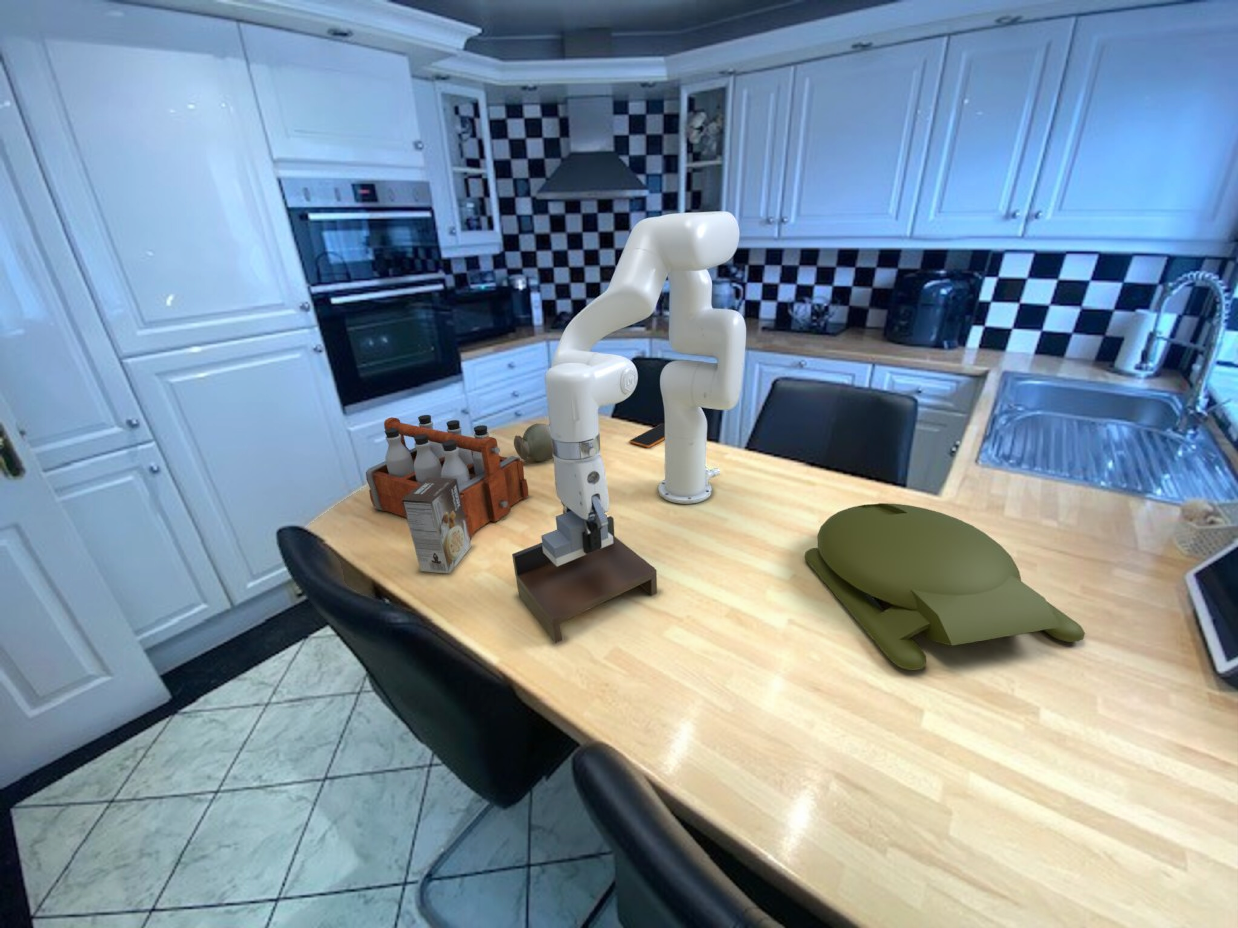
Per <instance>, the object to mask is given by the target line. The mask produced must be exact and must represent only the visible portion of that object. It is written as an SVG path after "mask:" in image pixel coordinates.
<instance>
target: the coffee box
mask: <svg viewBox="0 0 1238 928" xmlns="http://www.w3.org/2000/svg"><path fill="white" fill-rule="evenodd" d="M402 502H403V506H404V510H405V514H406V517H405V518H406V521H407V524H408V525H407V526H408V528H409V533H410V535H411V539H412V544H413V547H414V551H415V554H416V558H417V562H418V565H419V569H420V572H427V573H438V574H447V575H448V574H451V573H452V572H453V570H454V569H455V568H456V566H457V565H458V564H459V563H460V561H461V560H462V559H463V558H464V556H465V555H466V554H467V553H468V552H469V551H470V549H471V548H472V544H471V540H470V537H469V534H468V530H467V525H466V520H465V515H464V511H463V506H462V501H461V497H460V492H459V487H458V483H457V479H456V478H430V477H428V478H426V479H425V480H424V481H423V482H422V483H421V484H419V485H418V486H417V487H416V488H415V489H414V490H412V491H411V492H410V493H409V494H408V495H406V496H405V497H404V498H403V499H402Z"/></svg>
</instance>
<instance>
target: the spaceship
mask: <svg viewBox="0 0 1238 928" xmlns="http://www.w3.org/2000/svg"><path fill="white" fill-rule="evenodd" d="M816 538H817V539H816V540H817V541H816V542H817V543H816V544H817V545H816V546H817V547H812V548H808V549H807V550H806V551H805V553H804V560H805V561H806V562H807V563H808V565H809V566H810V567H811V568H812V569H813V570H814V572H815V573H816V574H817V575H818V576H819V577H820V579H821V580H822V581H823V582H824V584H825V585H826V586H827V587H828V588H829V589H830V591H831V592H832V593H833V594H834V595H835V597H836V598H837V599H838V600H839V601H840V603H842V605H843V606H844V607H845V608H846V610H847V611H848V612H849V613H850V614H851V615H852V617H853V618H854V619H855V621H856V622H857V623H858V624H859V625H860V626H861V627H862V629H863V630H864V631H865V632H866V633H867V634H868V636H869V637H870V638H871V639H872V641H874V643H875V644H876V646H878V647H879V649H880V650H881V651H882V652H883V654H884V655H885V656H886V657H887V658H888V659H889V660H890V661H891V662H892V663H893V664H894V665H896V667H899V668H901V669H903V670H907V671H918V670H921V669H923V668H924V667H925V666H926V664H927V655H926V654H925V652H924V651H923V649H922V648H921V647H920V646H919V645H918V644H917V643H916V642H915V640H913V638H912V637H914V636H916V635H917V634H919V633H922V634H923V635H924V636H925V637H927V639H928V640H929V641H932V642H936V643H940V644H944V645H948V646H953V647H954V646H957V645H964V644H969V643H975V642H981V641H986V640H993V639H999V638H1004V637H1005V638H1006V637H1011V636H1016V635H1021V634H1022V635H1023V634H1027V633H1034V632H1039V631H1044V632H1046V633H1047V634H1048V635H1050V636H1051V637H1053V638H1054V639H1056V640H1060V641H1062V642H1068V643H1077V642H1080V641H1083V640H1084V638H1085V636H1086V632H1085V630H1084V629H1083V627H1082V625H1080V623H1078V622H1077V621H1075V619H1072V618H1071V617H1070V616H1068V615H1067V614H1066V613H1064V612H1062V611H1061V610H1059V609H1058V608H1057V607H1056V606H1054V605H1053V604H1052V603H1050V602H1049V601H1047V600H1046V598H1045V597H1044V596H1043V595H1042V594H1040V593H1039V592H1037V591H1036V590H1035V589H1033V588H1032V587H1030V586H1029V585H1028V584H1026V583H1024V582H1023V580H1022V578H1021V577H1022V576H1021V573H1020V570H1019V567H1018V566H1017V564H1016V562H1015V560H1014V559H1013V557H1012V555H1010V553H1009V552H1008V551H1007V550H1006V549H1005V548H1004V547H1003V546H1002V545H1001V544H1000V543H998V542H997V541H996V540H995V539H994V538H992V537H991V536H989V535H988V534H987V533H986V532H984V531H982V530H980V529H979V528H977V527H975V526H974V525H972V524H970V523H967V522H965V521H963V520H961V519H960V518H956V517H955V516H951V515H948V514H945V513H943V512H939V511H937V510H932V509H930V508H925V507H920V506H915V505H909V504H902V503H888V502H887V503H886V502H885V503H883V502H882V503H881V502H879V503H867V504H861V505H856V506H852V507H847V508H845V509H843V510H839V511H837V512H836V513H834V514H832V515H831V516H829V517H828V519H826V520H825V521H824V522H823V524H822V525H820V527H819V530H818V533H817V537H816ZM875 598H876V599H878V600H881V601H883V602H886V603H889V604H891V605H892V606H891V607H889V608H887V609H884V608H883V606H881V604H879V602H877V600H876V599H875Z"/></svg>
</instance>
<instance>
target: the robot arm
mask: <svg viewBox="0 0 1238 928" xmlns="http://www.w3.org/2000/svg"><path fill="white" fill-rule="evenodd" d="M739 226H740V225H739V223H738V221H737V219H736V217H735V216H734V215H733V214H732V212H729V211H726V210H722V211H721V210H720V211H702V212H701V211H699V212H678V213H677V212H675V213H668V214H664V215H659V216H652V217H647V218H644V219H642V220H639V221H638V222H637V223H636V224H635V225H634V226H633V228H632V229H631V231H630V233H629V236H628V239H627V240H626V243H625V246H624V248H623V249H622V252H621V255H620V257H619V260H618V263H617V265H616V266H615V267H616V268H615V270H614V272H613V275H612V276H611V279H610V282H609V284H608V287H607V289H605V291H604V292H603V293H601V294H600V295H599V296H597V297H596V298H595V299H593V300H592V301H590V302H589V303H588V304H587V305H586V306H585V307H584V308H583V309H581V310H580V312H578V313H577V314H576V315H575V316H574V317H573V318H572V319H571V321H570V322H568V325H567V326H566V327H565V329H564V331H563V333H562V335H561V337H560V339H559V342H558V344H557V347H556V349H555V352H554V354H553V357H552V361H551V365H550V367H549V368H548V370H546V372H545V376H544V385H545V396H546V404H547V413H548V425H550V434H551V445H552V454H553V457H552V458H553V469H554V485H555V492H556V496H557V498H558V500H559V501H560V503H561V505H562V514H564V513H566V512H569V511H573V512H574V513H575V514H577V515H578V516H579V517H581V519H582V523H583V527H584V532H583V533H582V537H583V549H584V553H585V554H588V553H591V552H593V551H596V550H598V549H600V548H601V547H602V543H601V530H602V527H604V526H605V525H607V524H608V520H607V518H606V515H607V514H606V513H608V512H609V511H610V499H609V497H610V496H609V490H608V489H609V487H608V481H607V480H608V479H607V475H606V469H605V465H604V461H603V458H602V457H603V456H601V436H600V421H599V409H600V408H601V407H606V406H611V405H615V404H619V403H621V402H624V401H625V400H626V399H628V398H629V397H631V395H632V394H633V393H634V391H635V390H636V387H637V385H638V380H639V379H638V378H639V374H638V370H637V367H636V365H635V364H634V363H633V361H632V360H630V359H629V358H627V357H625V356H623V355H619V354H613V353H603V352H599V351H598V352H597V351H592V349H593V348H594V347H595V345H596V344H597V343H599V342H600V341H601V340H602V339H603V338H604V337H606V336H607V335H610V334H612V333H614V332H616V331H619V330H621V329H624V328H627V327H629V326H631V325H634V324H636V323H639V322H641V321H644V320H646V319H647V318H649V317H650V316H651V315H652V314H654V311H655V309H656V306H657V304H658V301H659V298H660V296H661V293H662V291H663V288H664V286H665V283H666V280H668V285H669V305H668V306H669V309H668V342H669V345H670V348H671V349H672V350H673V351H674V352H677V353H679V354H682V355H689V356H700V357H709V358H710V357H711V358H715V360H716V362H710V361H709V362H707V361H703V360H702V361H701V360H690V359H676V360H672V361H670V362H668V363H667V364H666V365H665V366H664V367H663V368H662V370H661V372H660V377H659V385H660V386H659V388H660V393H661V397H662V398H661V399H662V403H663V414H664V424H665V439H664V480H662V481H661V482H660V483H659V484H658V494H659V496H660V497H661V498H663V499H664V500H666V501H667V502H671V503H675V504H682V505H690V504H696V503H701V502H704V501H705V500H707V499H708V498H709V497H710V496H711V495H712V490H713V489H712V485H711V484H710V482H709V481H710V480H712V478H715V477H718V476H720V473H721V471H720V469H719V468H717V467H715V468H713V469H710V470H709V468H708V466H707V439H708V420H707V417H706V415H705V412H704V411H703V409H702V408H704V409H712V410H719V411H729V410H732V409H734V408H735V407H736V406H737V405H738V403H739V401H740V398H741V395H742V390H743V389H742V387H743V382H744V381H743V380H744V368H745V356H746V355H745V354H746V344H747V326H746V321H745V319H744V316H743V315H742V314H741V313H740V312H739V311H737V310H735V309H734V310H733V309H731V308H714V307H713V305H712V298H713V296H712V295H713V281H712V278H711V275H710V272H709V269H712V268H715V267H718V266H720V265H723V264H725V263H727V262H728V261H730V260H731V259H732V257H734V255H735V253H736V252H737V250H738V246H739V242H740V227H739ZM591 510H593V512H591ZM605 514H606V515H605ZM592 517H594V520H595V522H593V523H591V524H590V525H589V522H588V519H590V518H592Z"/></svg>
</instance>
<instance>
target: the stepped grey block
mask: <svg viewBox="0 0 1238 928" xmlns="http://www.w3.org/2000/svg"><path fill="white" fill-rule="evenodd" d="M591 512H593V510H591ZM605 515H606V518H607V517H608V515H607V514H606V513H605ZM588 522H589V525H590V524H591V523H593V522H595V520H594V517H592V518H590V519H588ZM555 524H556V529H554V530H552V531H549V532H546V533H544V534H541V535H540V536H541V537H540V538H541V543H542V547H543V553H544V554H545V555H546V556H547V557H548V558H549V559H550V560H551V561H552V562H553V563H554V564H555V565H556V566H560V565H562V564H565V563H567V562H569V561H572V560H574V559H577V558H579V557H581V556H584V555H586V554H585V553H584V549H583V537H582V533H583V532H584V527H583V523H582V519H581V517H579V516H578V515H577V514H575V513H574V512H573V511H569V512H566V513H564V514H563V513H561V514H558V515H556V516H555ZM601 543H602V547H601V548H603V547H606V546H608V545H610V544H613V536H612V535H611V534H610V533H608V525H605V526H604V527H602V530H601ZM601 548H600V549H601ZM593 552H594V551H593ZM588 554H589V553H588Z"/></svg>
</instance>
